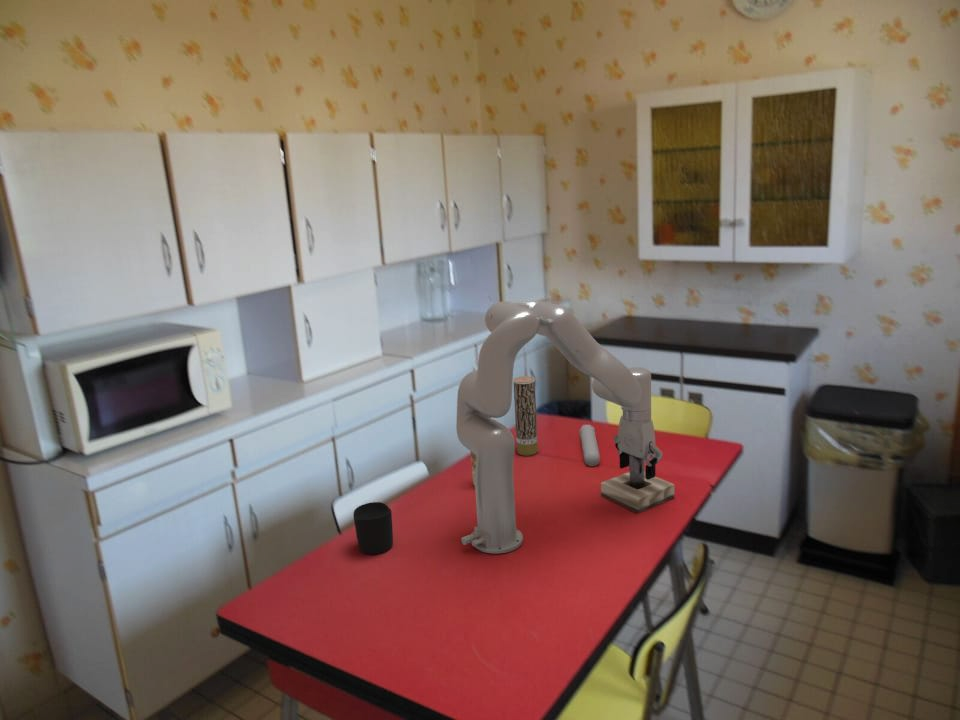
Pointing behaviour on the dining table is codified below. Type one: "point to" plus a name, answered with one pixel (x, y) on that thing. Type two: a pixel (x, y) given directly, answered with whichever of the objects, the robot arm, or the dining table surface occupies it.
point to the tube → (589, 445)
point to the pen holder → (373, 528)
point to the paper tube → (525, 415)
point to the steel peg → (636, 472)
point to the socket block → (637, 492)
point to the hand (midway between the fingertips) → (637, 472)
